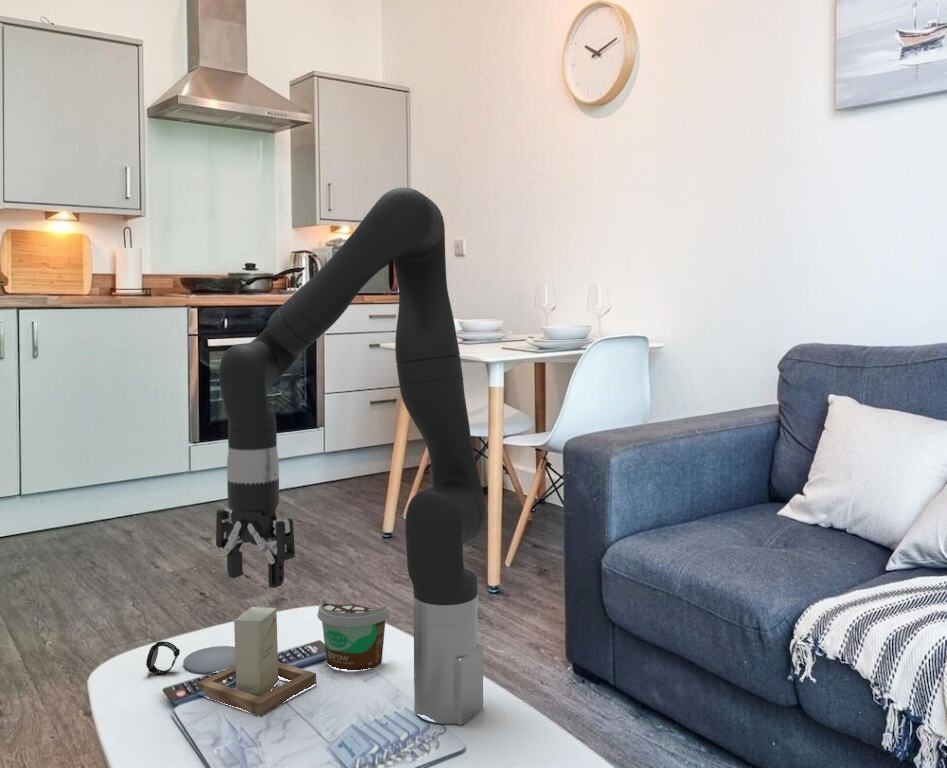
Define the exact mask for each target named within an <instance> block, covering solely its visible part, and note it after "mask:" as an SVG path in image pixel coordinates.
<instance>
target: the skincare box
mask: <svg viewBox="0 0 947 768" xmlns="http://www.w3.org/2000/svg"><path fill="white" fill-rule="evenodd" d="M277 616H278V615H277V608H276V607H261V606H260V607H259V606H251V607H249V608H248V609H246V610H245V611H243V612H242V613H241V614H240V615H239V616H237V617H235V618H234V619H233V624H234V626H233V627H234V647H235V662H236V683H235V689H237V690H240V691H243V692H246V693H249V694H252V695H255V696H258V697H260V696H262V695H264V694H266V693H268V692H270V691H271V689H272V688H273V687H274V685H275V684H276V683H277V682H278V680H279V678H278V662H279V657H278V656H279V654H278V652H279V651H278V649H279V648H278V647H279V646H278V621H277V619H278V617H277ZM279 681H280V680H279Z"/></svg>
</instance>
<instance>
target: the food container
mask: <svg viewBox="0 0 947 768" xmlns="http://www.w3.org/2000/svg"><path fill="white" fill-rule="evenodd" d="M317 618H318V619H319V621H321V622H322V623H321V624H322V631H323V641H324V650H325V657H326V658H325V659H326V664H327V663H328V664H329V665H331V666H332V667H336V668H339V669H347V670H361V669H362V670H363V669H368V668H372V669H375V668H377V667H378V666H380V665H382V662H383V653H384V652H383V651H384V640H385V631H386V620H387V619H389V618H390V614H389V608H387V604H385V605H383V606H381V607H379V608H370V607H366V606H362V605H359V604H355V603H353V604H351V603H350V604H335V603H333V604H332V603H327V602H326V599H325V597H324V598H322V600H320V604H319V606H318V612H317ZM328 664H327V665H328Z"/></svg>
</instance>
